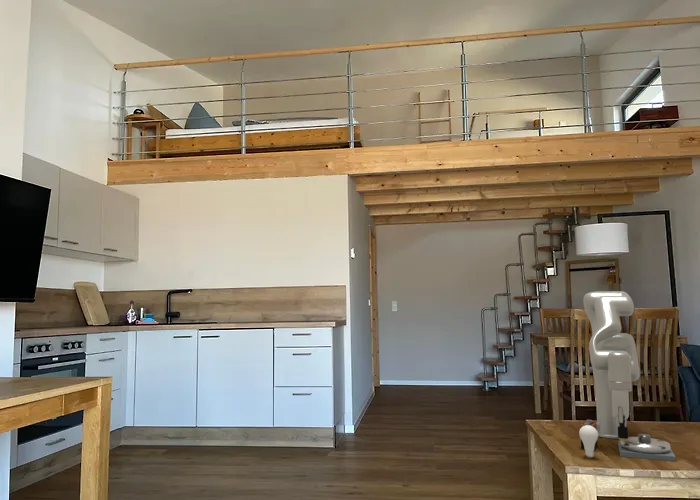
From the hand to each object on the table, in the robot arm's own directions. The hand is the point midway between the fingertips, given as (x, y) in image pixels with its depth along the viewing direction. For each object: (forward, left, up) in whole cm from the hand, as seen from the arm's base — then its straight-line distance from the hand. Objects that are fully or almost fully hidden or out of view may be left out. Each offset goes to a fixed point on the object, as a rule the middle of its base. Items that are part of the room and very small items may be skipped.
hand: (623, 437), depth 198 cm
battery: (-11, +2, -5) cm, 13 cm away
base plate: (+7, +3, -5) cm, 9 cm away
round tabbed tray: (+7, +3, -3) cm, 8 cm away
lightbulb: (-11, -12, -5) cm, 18 cm away
